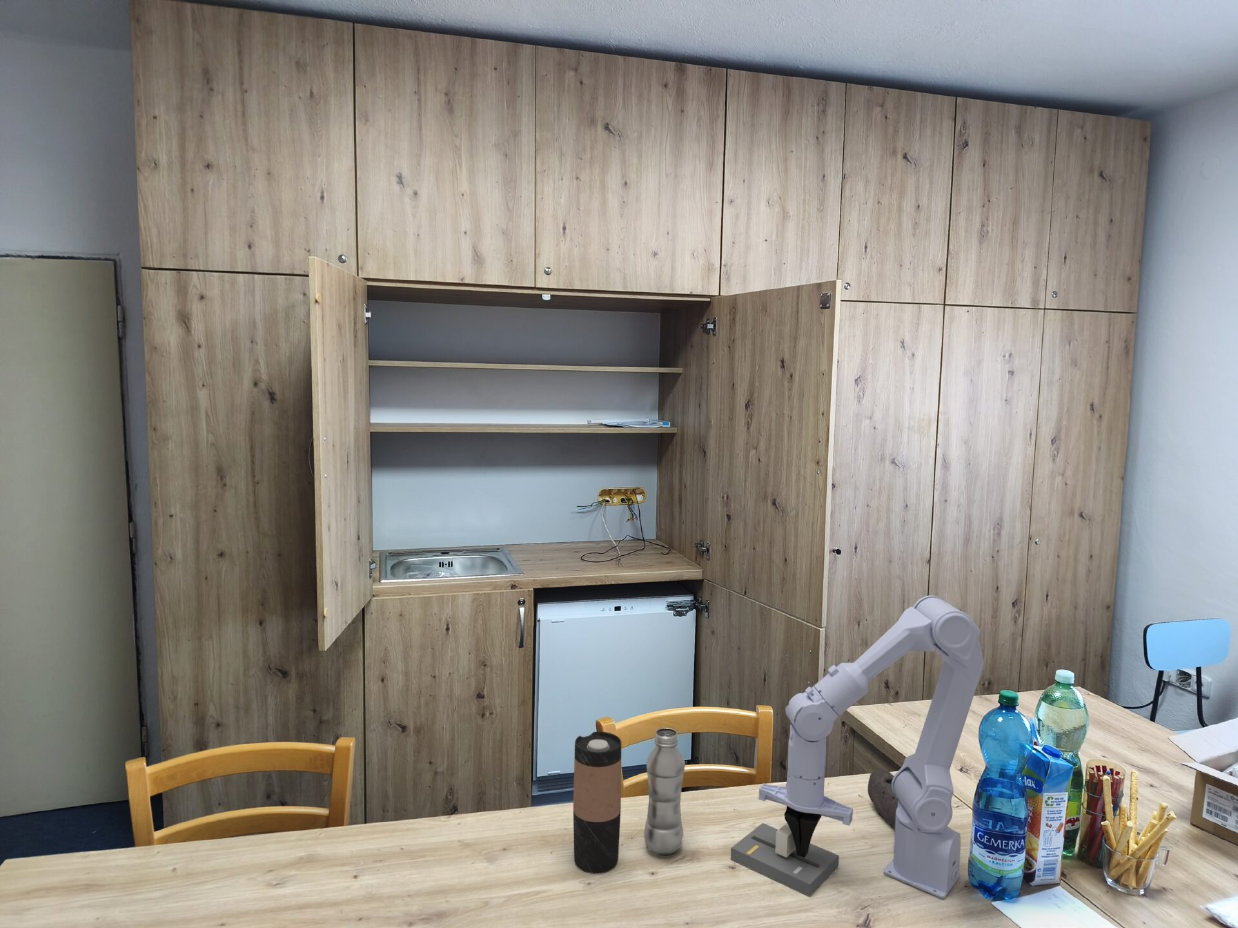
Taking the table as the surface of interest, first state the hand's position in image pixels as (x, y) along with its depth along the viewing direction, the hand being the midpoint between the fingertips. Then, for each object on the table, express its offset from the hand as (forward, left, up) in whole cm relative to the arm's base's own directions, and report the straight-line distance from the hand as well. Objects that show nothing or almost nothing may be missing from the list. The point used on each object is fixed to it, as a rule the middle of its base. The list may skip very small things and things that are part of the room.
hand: (802, 853), depth 124 cm
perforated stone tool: (-6, -24, -3) cm, 25 cm away
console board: (+3, 0, -3) cm, 4 cm away
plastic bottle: (+20, +10, -3) cm, 23 cm away
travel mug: (+26, +20, -3) cm, 33 cm away
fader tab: (+3, 0, -1) cm, 3 cm away
